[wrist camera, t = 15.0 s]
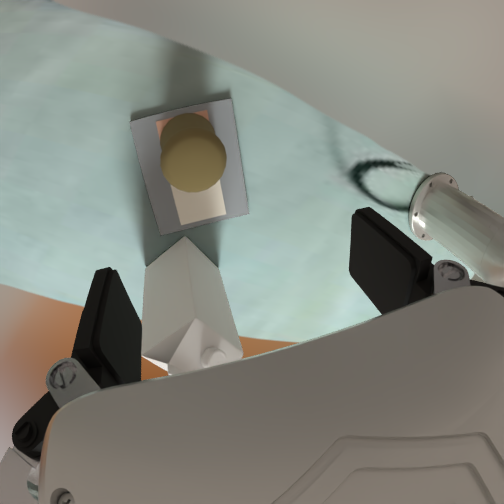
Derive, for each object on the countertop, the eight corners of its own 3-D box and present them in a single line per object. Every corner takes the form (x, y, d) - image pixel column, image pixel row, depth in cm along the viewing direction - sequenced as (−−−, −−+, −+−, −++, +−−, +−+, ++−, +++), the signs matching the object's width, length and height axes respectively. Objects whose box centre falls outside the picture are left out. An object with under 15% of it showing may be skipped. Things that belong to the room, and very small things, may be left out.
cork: (174, 176, 32) (176, 216, 23) (150, 128, 28) (139, 148, 19) (224, 152, 32) (247, 182, 23) (203, 103, 28) (217, 110, 19)
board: (229, 98, 30) (231, 98, 29) (247, 210, 37) (249, 214, 36) (130, 121, 28) (129, 122, 27) (160, 231, 36) (160, 236, 35)
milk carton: (180, 297, 42) (196, 416, 26) (144, 267, 38) (140, 390, 22) (219, 268, 41) (254, 385, 25) (184, 234, 37) (201, 353, 21)
